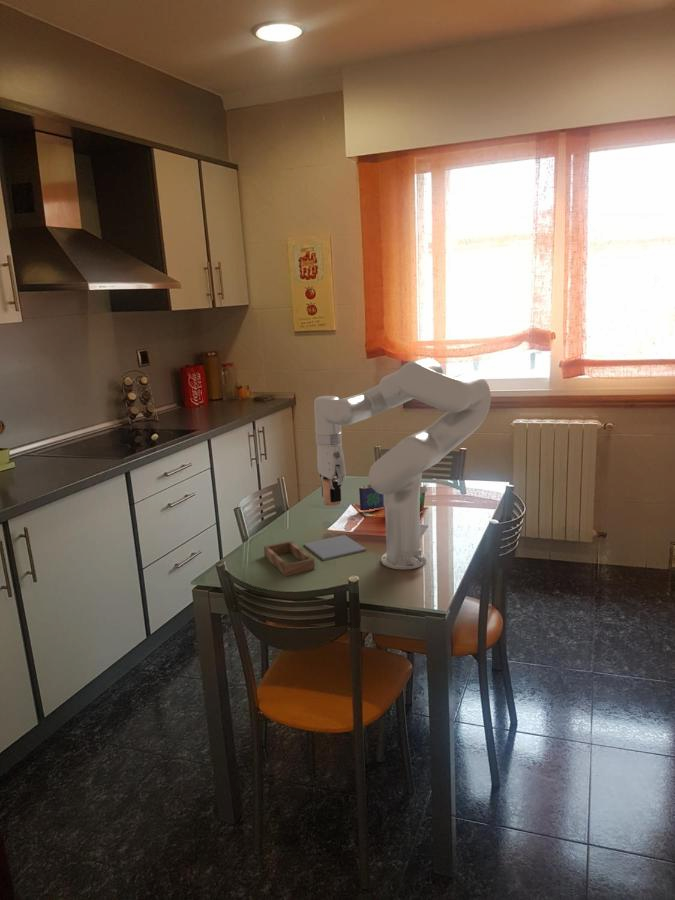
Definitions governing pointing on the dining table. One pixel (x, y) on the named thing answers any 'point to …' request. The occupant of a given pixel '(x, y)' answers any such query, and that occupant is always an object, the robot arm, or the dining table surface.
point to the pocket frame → (291, 568)
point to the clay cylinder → (327, 493)
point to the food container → (422, 497)
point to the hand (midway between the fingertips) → (331, 498)
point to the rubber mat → (334, 547)
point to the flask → (370, 498)
